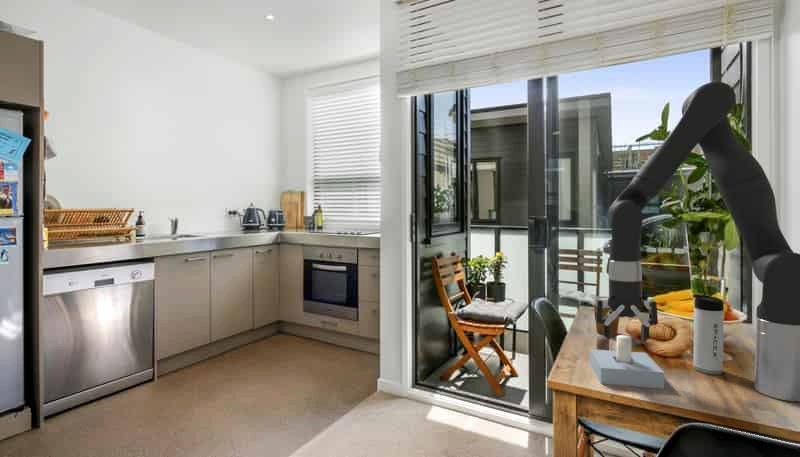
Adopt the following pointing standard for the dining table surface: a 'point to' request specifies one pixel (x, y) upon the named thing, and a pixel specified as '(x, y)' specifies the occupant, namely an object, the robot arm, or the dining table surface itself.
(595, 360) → the jig block
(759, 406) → the dining table surface
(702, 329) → the travel mug
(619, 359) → the long pin
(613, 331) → the disposable coffee cup
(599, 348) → the short pin
